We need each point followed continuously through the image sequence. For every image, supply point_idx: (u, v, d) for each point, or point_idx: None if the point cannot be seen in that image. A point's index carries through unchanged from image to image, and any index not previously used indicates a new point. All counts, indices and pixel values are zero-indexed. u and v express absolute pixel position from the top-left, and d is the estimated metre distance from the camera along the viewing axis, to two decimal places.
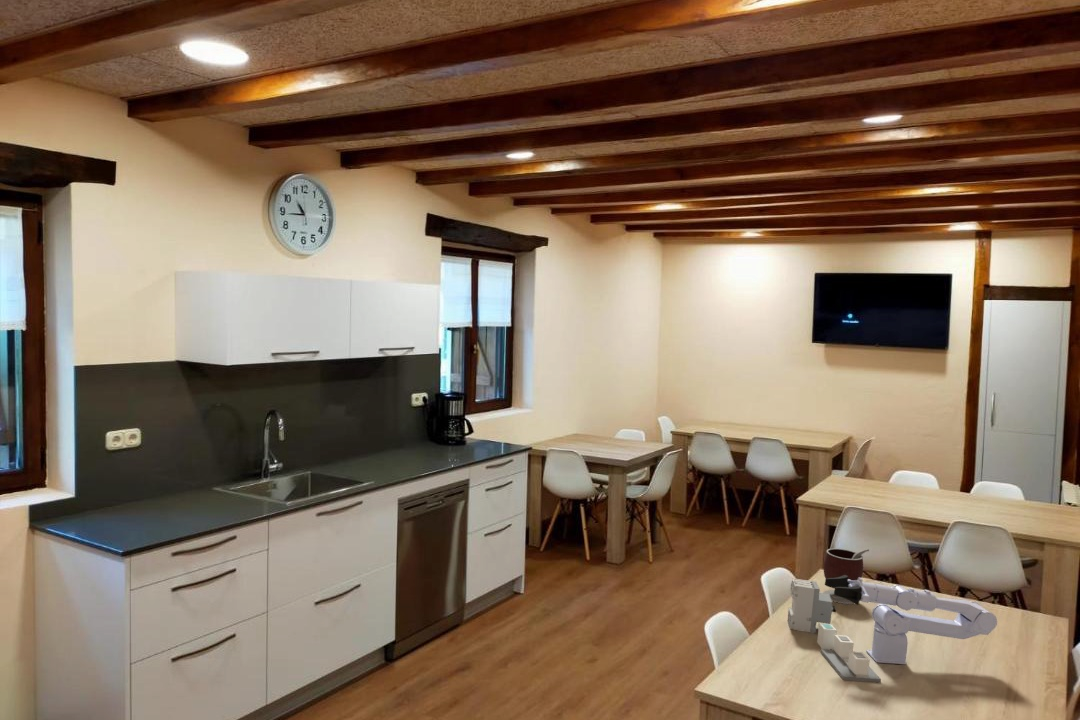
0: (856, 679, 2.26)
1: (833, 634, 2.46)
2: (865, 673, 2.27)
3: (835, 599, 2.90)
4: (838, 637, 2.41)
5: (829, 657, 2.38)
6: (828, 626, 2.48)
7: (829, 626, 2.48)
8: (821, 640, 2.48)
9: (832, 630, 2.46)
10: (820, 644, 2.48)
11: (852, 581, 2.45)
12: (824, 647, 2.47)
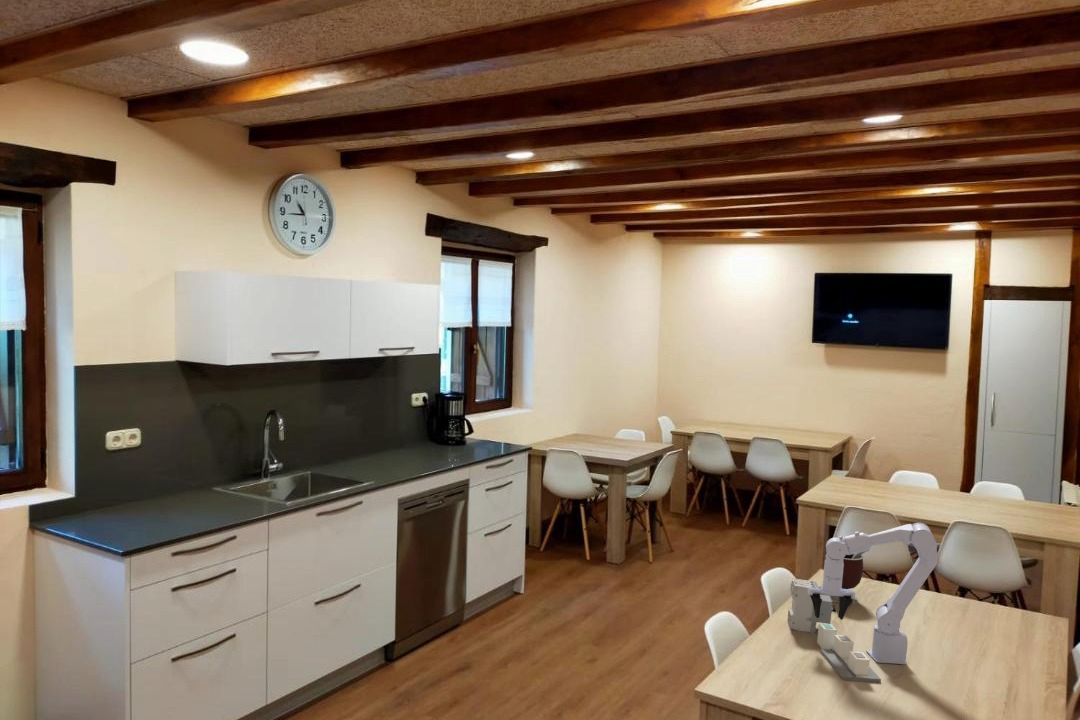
0: (856, 679, 2.26)
1: (833, 634, 2.47)
2: (865, 673, 2.27)
3: (835, 599, 2.90)
4: (838, 637, 2.41)
5: (829, 657, 2.38)
6: (828, 626, 2.48)
7: (829, 626, 2.48)
8: (821, 640, 2.48)
9: (832, 630, 2.46)
10: (820, 644, 2.48)
11: None
12: (824, 647, 2.47)
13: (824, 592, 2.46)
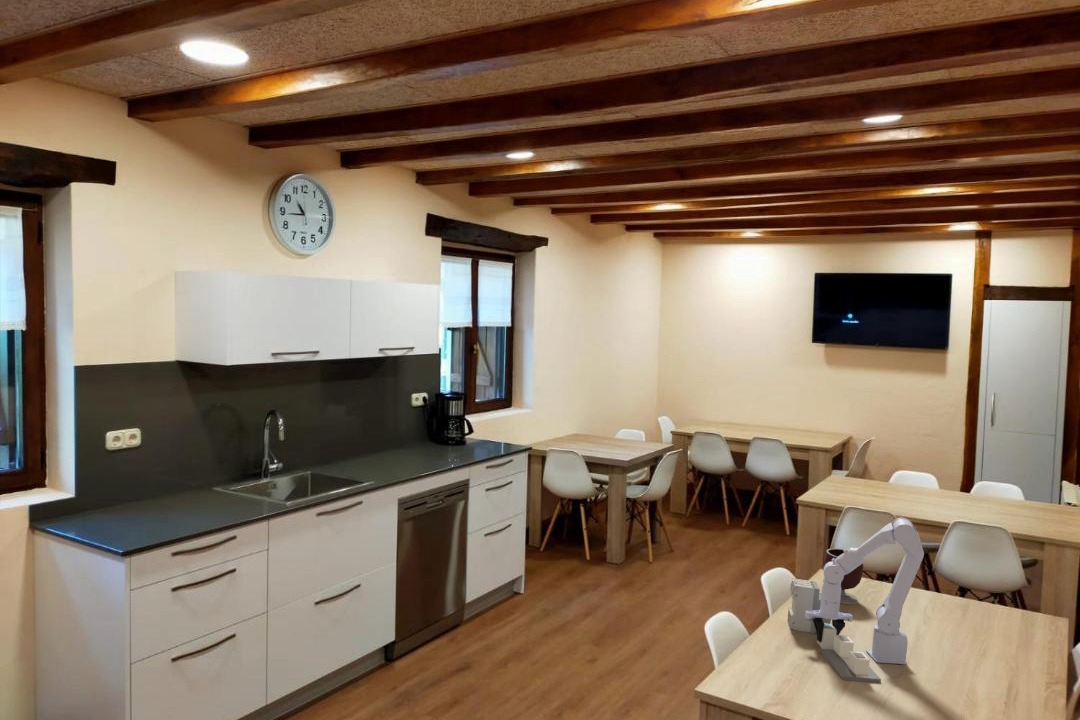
0: (856, 679, 2.26)
1: (833, 634, 2.46)
2: (865, 673, 2.27)
3: None
4: (838, 637, 2.41)
5: (829, 657, 2.38)
6: (828, 626, 2.48)
7: (829, 626, 2.48)
8: None
9: (832, 630, 2.46)
10: (820, 644, 2.48)
11: None
12: (824, 647, 2.47)
13: (822, 616, 2.46)
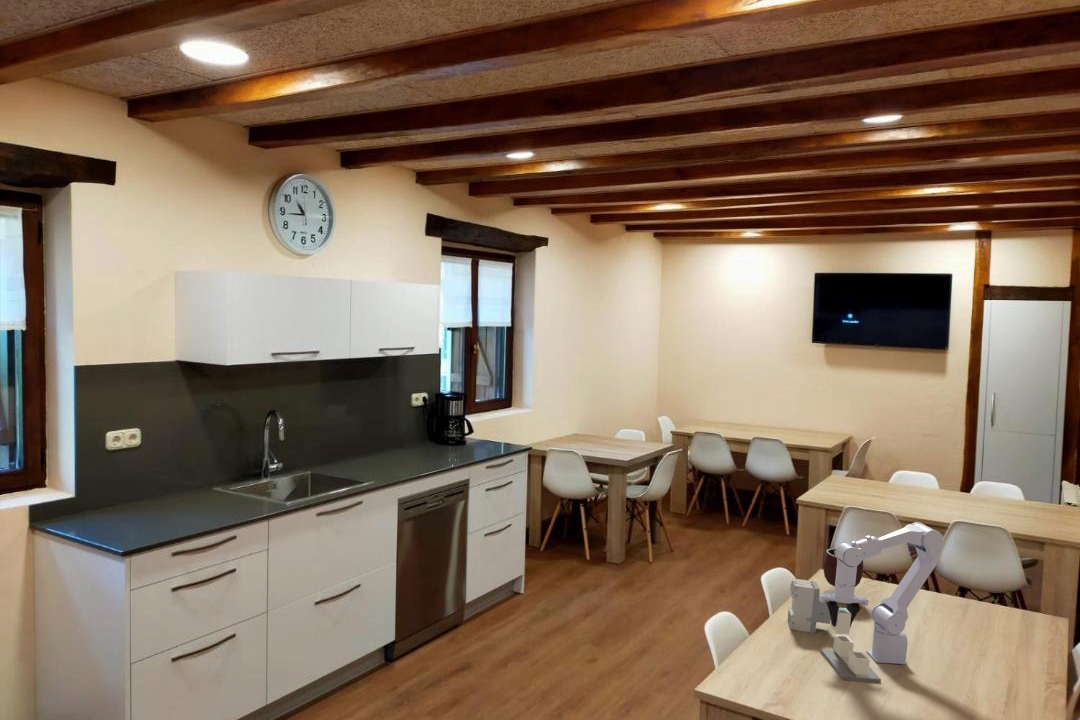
0: (856, 679, 2.26)
1: (847, 618, 2.39)
2: (865, 673, 2.27)
3: None
4: (838, 637, 2.41)
5: (829, 657, 2.38)
6: (842, 610, 2.41)
7: (843, 610, 2.41)
8: None
9: (846, 614, 2.39)
10: (834, 628, 2.41)
11: None
12: (838, 631, 2.39)
13: (836, 599, 2.38)
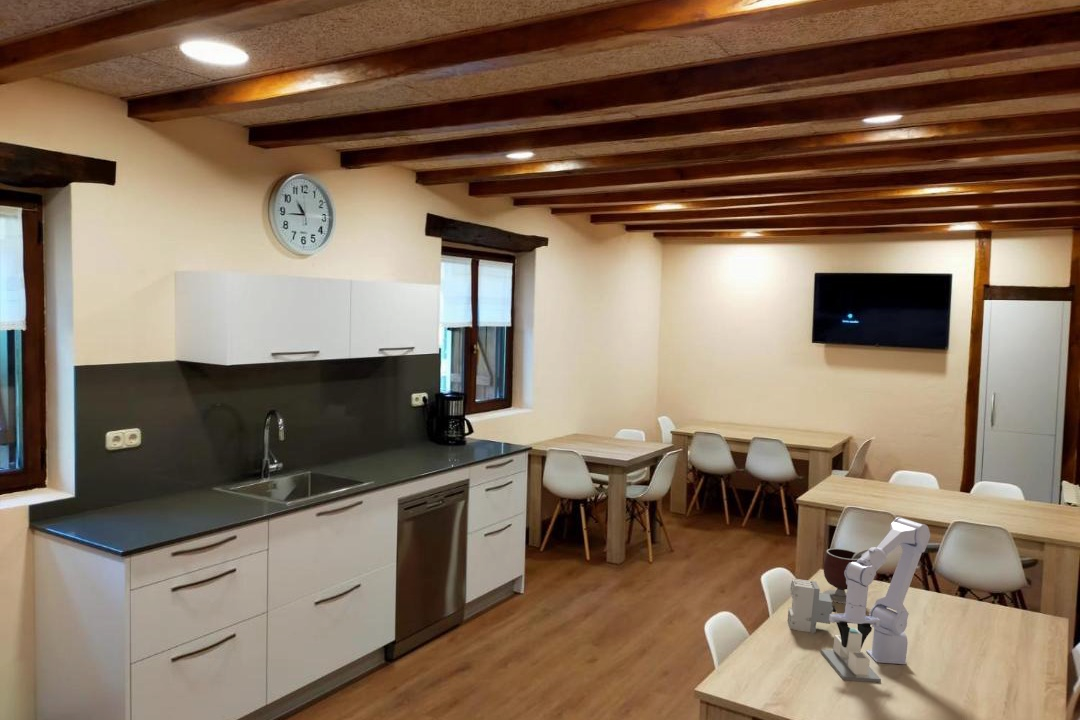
0: (856, 679, 2.26)
1: (858, 639, 2.33)
2: (865, 673, 2.27)
3: (835, 599, 2.90)
4: (838, 637, 2.41)
5: (829, 657, 2.38)
6: (853, 630, 2.35)
7: (854, 630, 2.35)
8: None
9: (857, 635, 2.32)
10: (844, 649, 2.34)
11: None
12: None
13: (847, 620, 2.32)
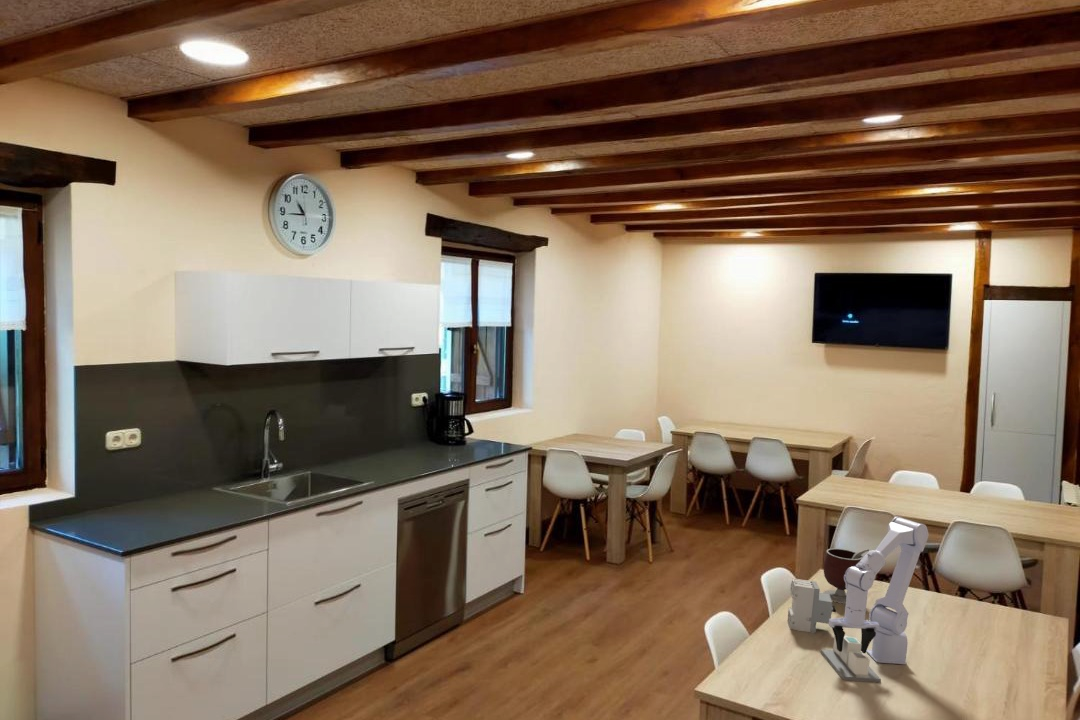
0: (856, 679, 2.26)
1: (858, 648, 2.33)
2: (865, 673, 2.27)
3: (835, 599, 2.90)
4: None
5: (829, 657, 2.38)
6: (852, 640, 2.35)
7: (853, 639, 2.35)
8: (845, 654, 2.34)
9: (856, 644, 2.33)
10: (844, 659, 2.35)
11: None
12: None
13: (846, 624, 2.32)
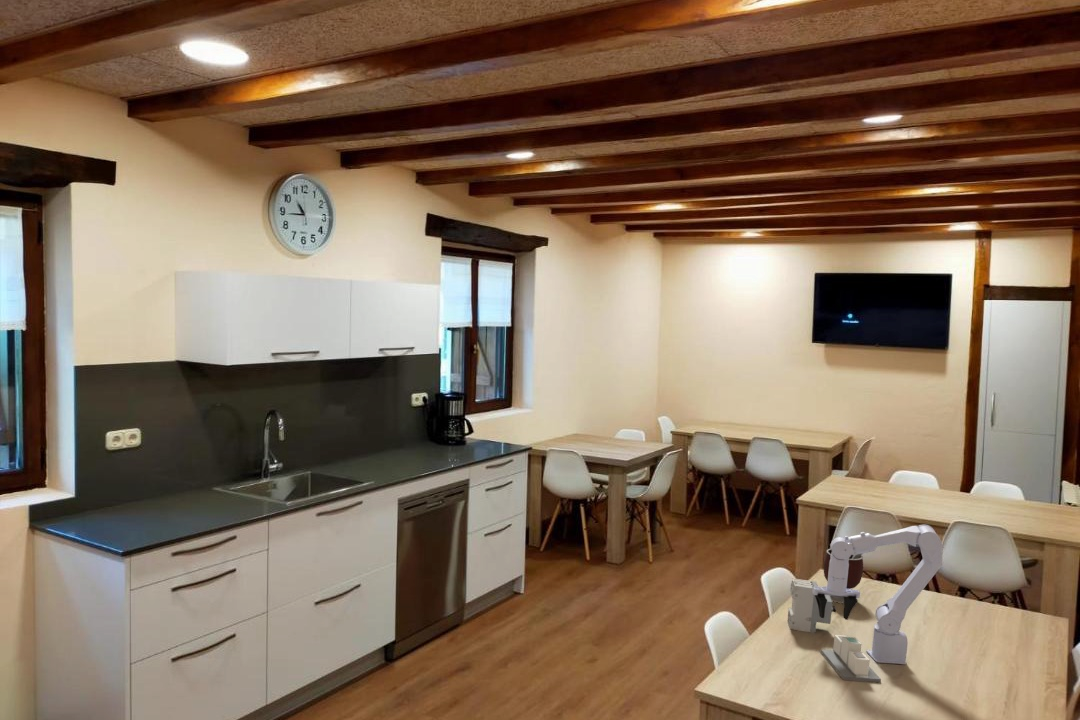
0: (856, 679, 2.26)
1: (858, 648, 2.33)
2: (865, 673, 2.27)
3: (835, 599, 2.90)
4: (838, 637, 2.41)
5: (829, 657, 2.38)
6: (852, 640, 2.35)
7: (853, 639, 2.35)
8: (845, 654, 2.34)
9: (856, 644, 2.33)
10: (844, 659, 2.35)
11: None
12: None
13: (829, 592, 2.44)
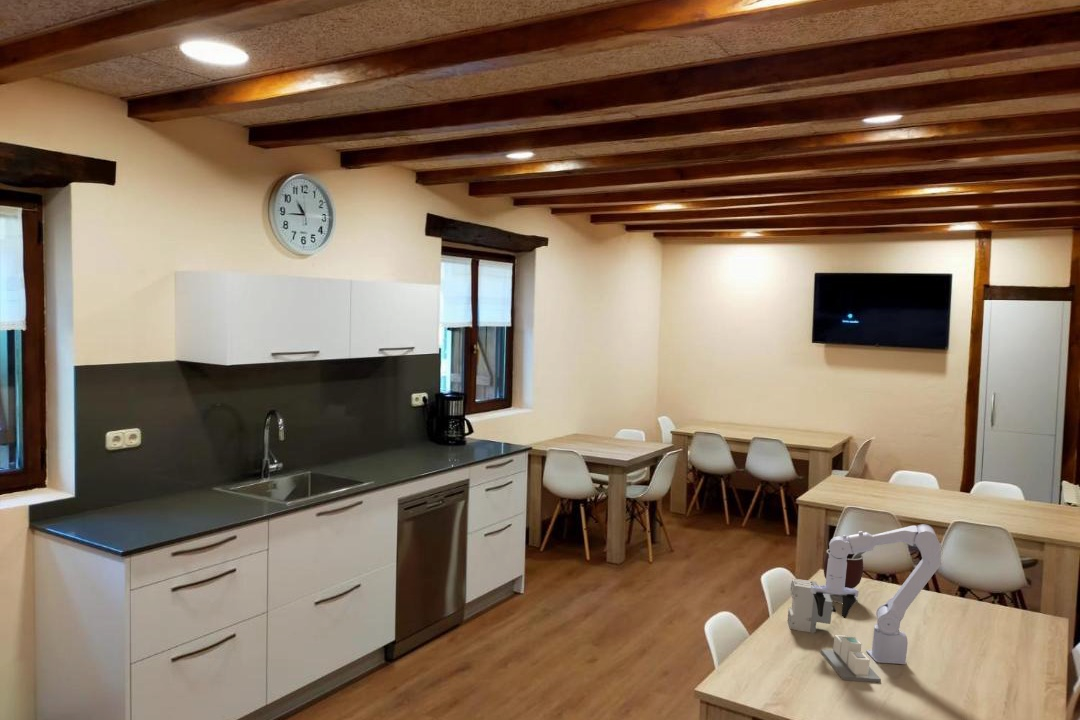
0: (856, 679, 2.26)
1: (858, 648, 2.33)
2: (865, 673, 2.27)
3: (835, 599, 2.90)
4: (838, 637, 2.41)
5: (829, 657, 2.38)
6: (852, 640, 2.35)
7: (853, 639, 2.35)
8: (845, 654, 2.34)
9: (856, 644, 2.33)
10: (844, 659, 2.35)
11: None
12: None
13: (827, 591, 2.46)
